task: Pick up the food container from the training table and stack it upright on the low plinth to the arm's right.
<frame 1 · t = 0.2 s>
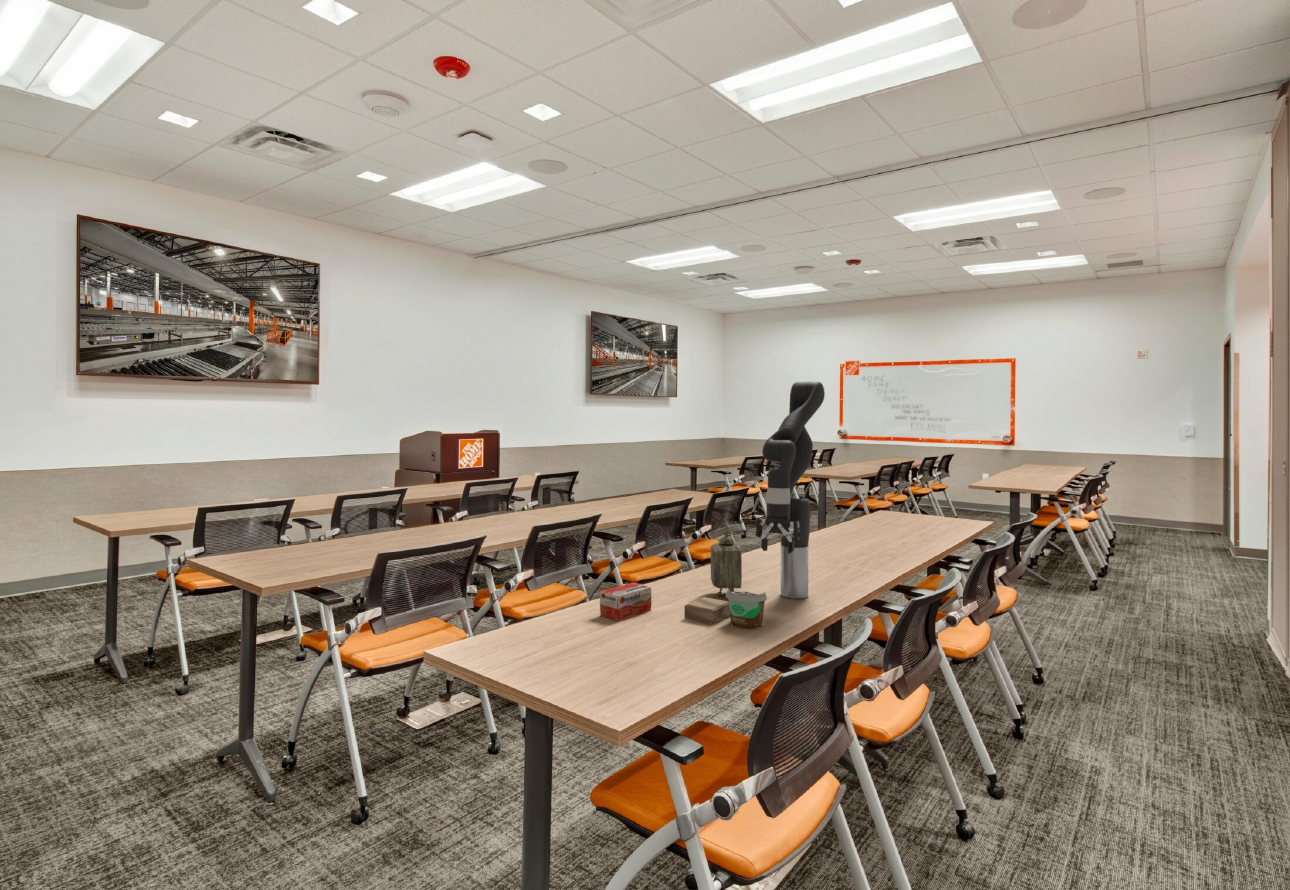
hand: (777, 552, 210), 17 cm above the table, tool pointing down, fingers open, 8 cm apart
food container: (743, 627, 190), on the table
medicine box: (626, 614, 203), on the table
plinth: (708, 616, 199), on the table
tabletop clock: (725, 596, 222), on the table
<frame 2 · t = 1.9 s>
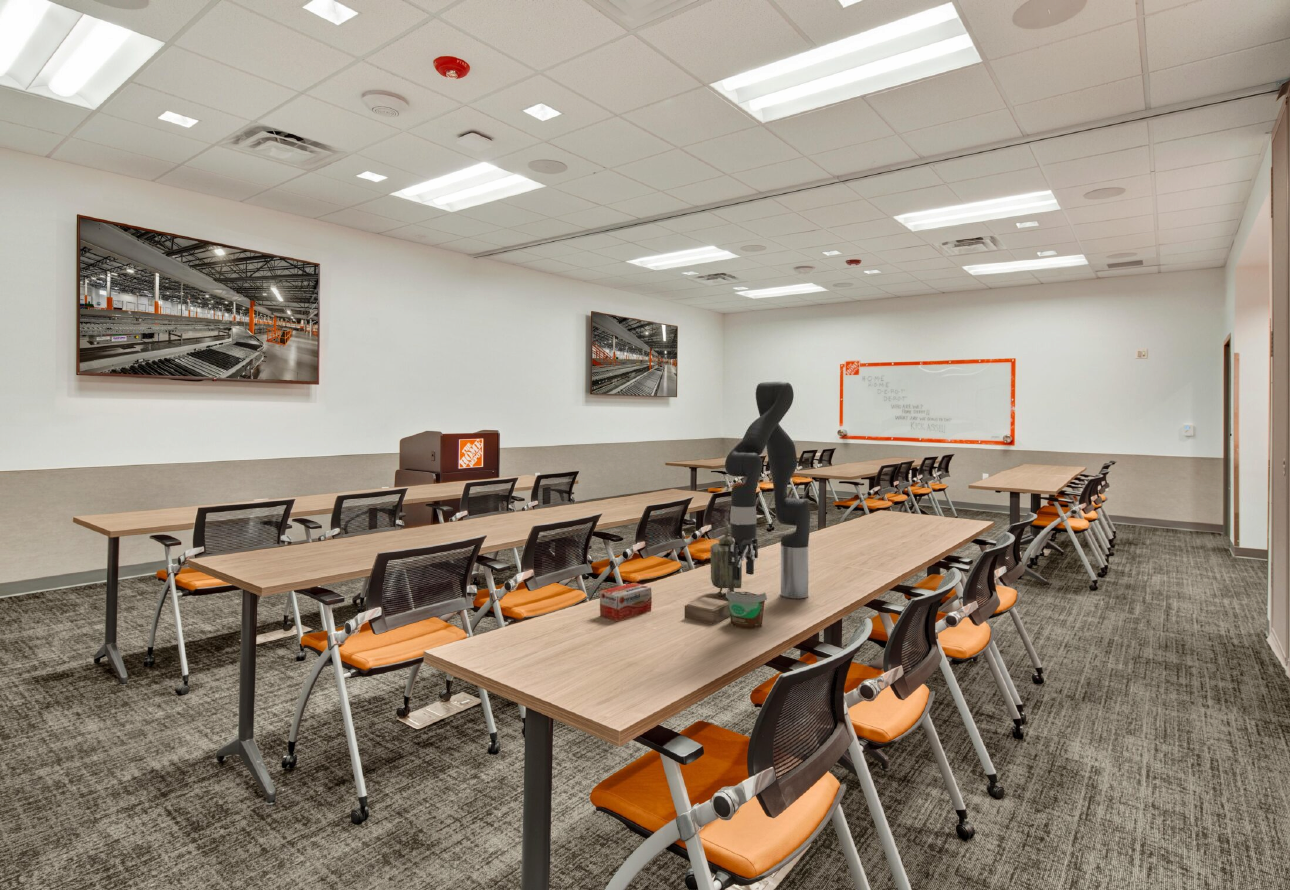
hand: (743, 576, 189), 15 cm above the table, tool pointing down, fingers open, 8 cm apart
nothing on the table moved.
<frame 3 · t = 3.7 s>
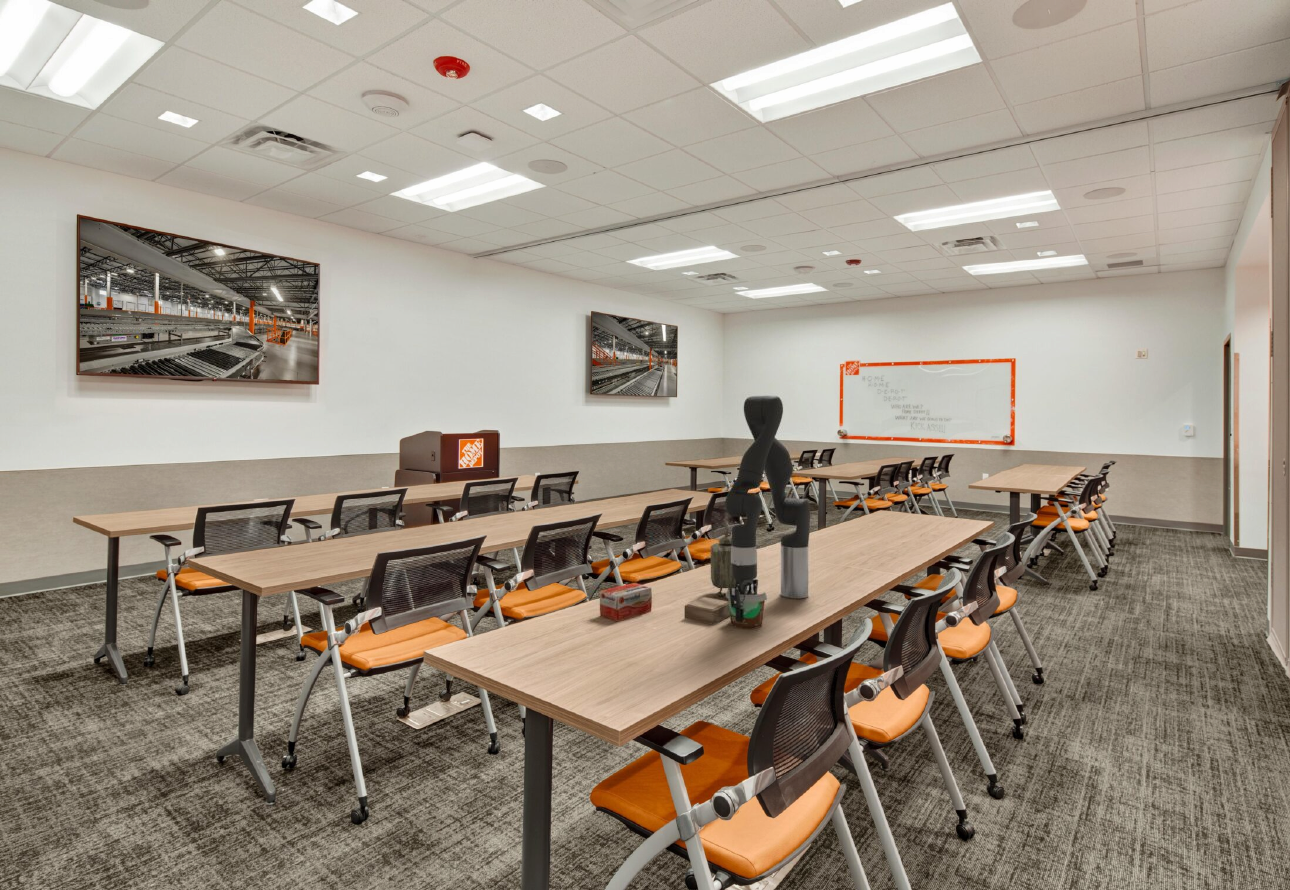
hand: (744, 618, 190), 2 cm above the table, tool pointing down, fingers closed on food container, 5 cm apart
food container: (743, 627, 190), on the table, touching gripper
everything else where it was.
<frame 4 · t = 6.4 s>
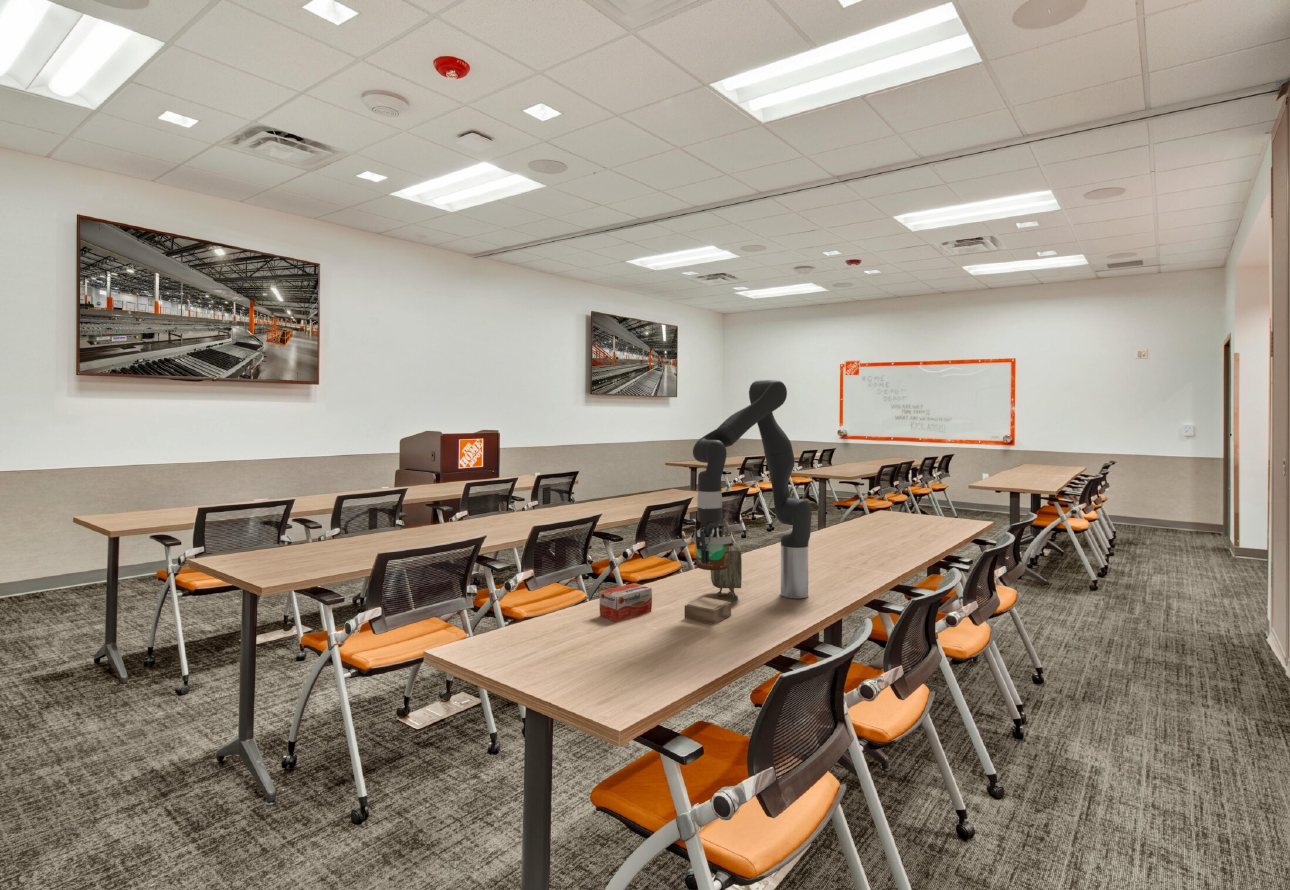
hand: (709, 560, 198), 17 cm above the table, tool pointing down, fingers closed on food container, 5 cm apart
food container: (708, 569, 197), point 15 cm above the table, touching gripper
everything else where it was.
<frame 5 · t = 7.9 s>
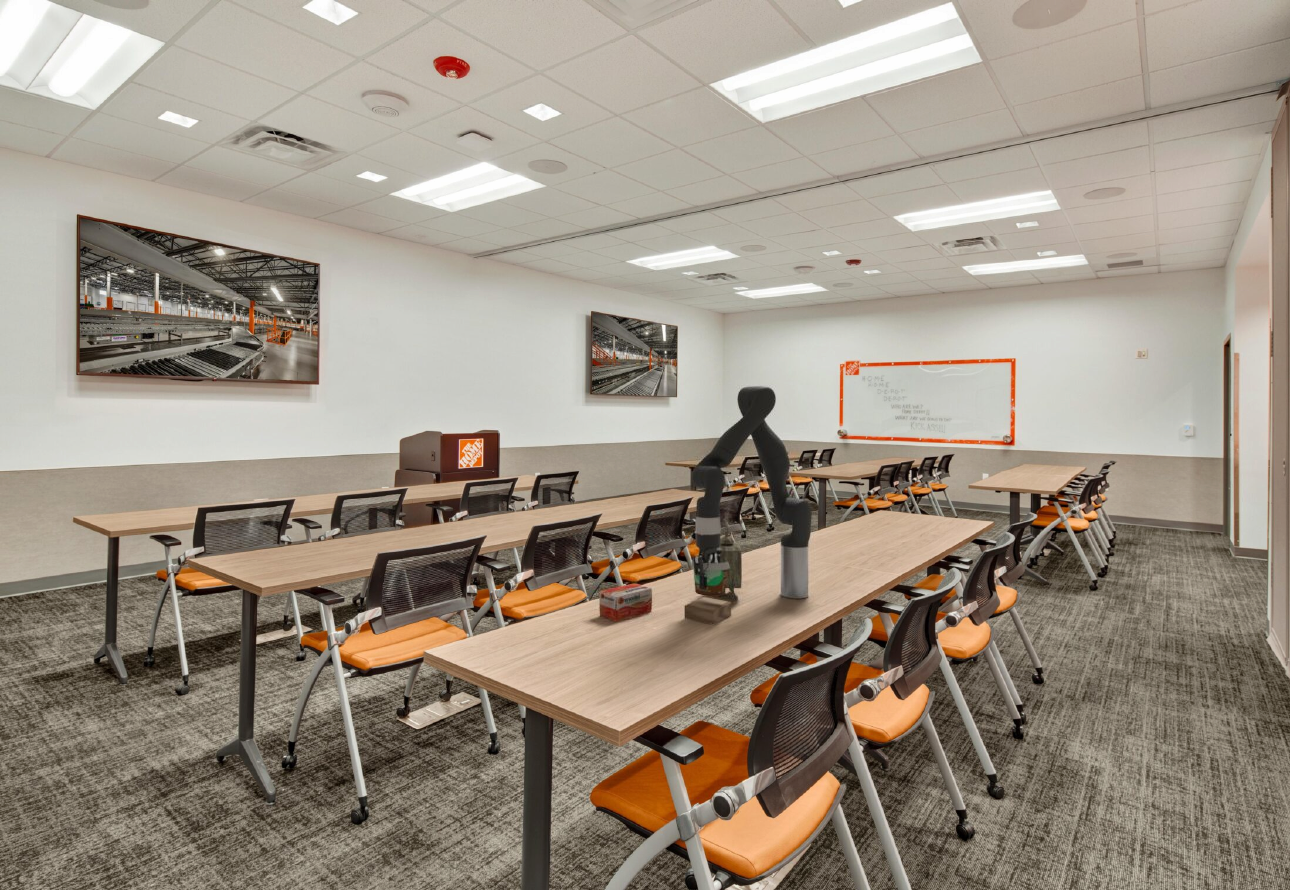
hand: (708, 586, 198), 9 cm above the table, tool pointing down, fingers closed on food container, 5 cm apart
food container: (707, 594, 198), point 7 cm above the table, touching gripper
everything else where it was.
when the fingers open (8 cm above the table, at t = 9.2 s): food container stays where it is, resting on plinth.
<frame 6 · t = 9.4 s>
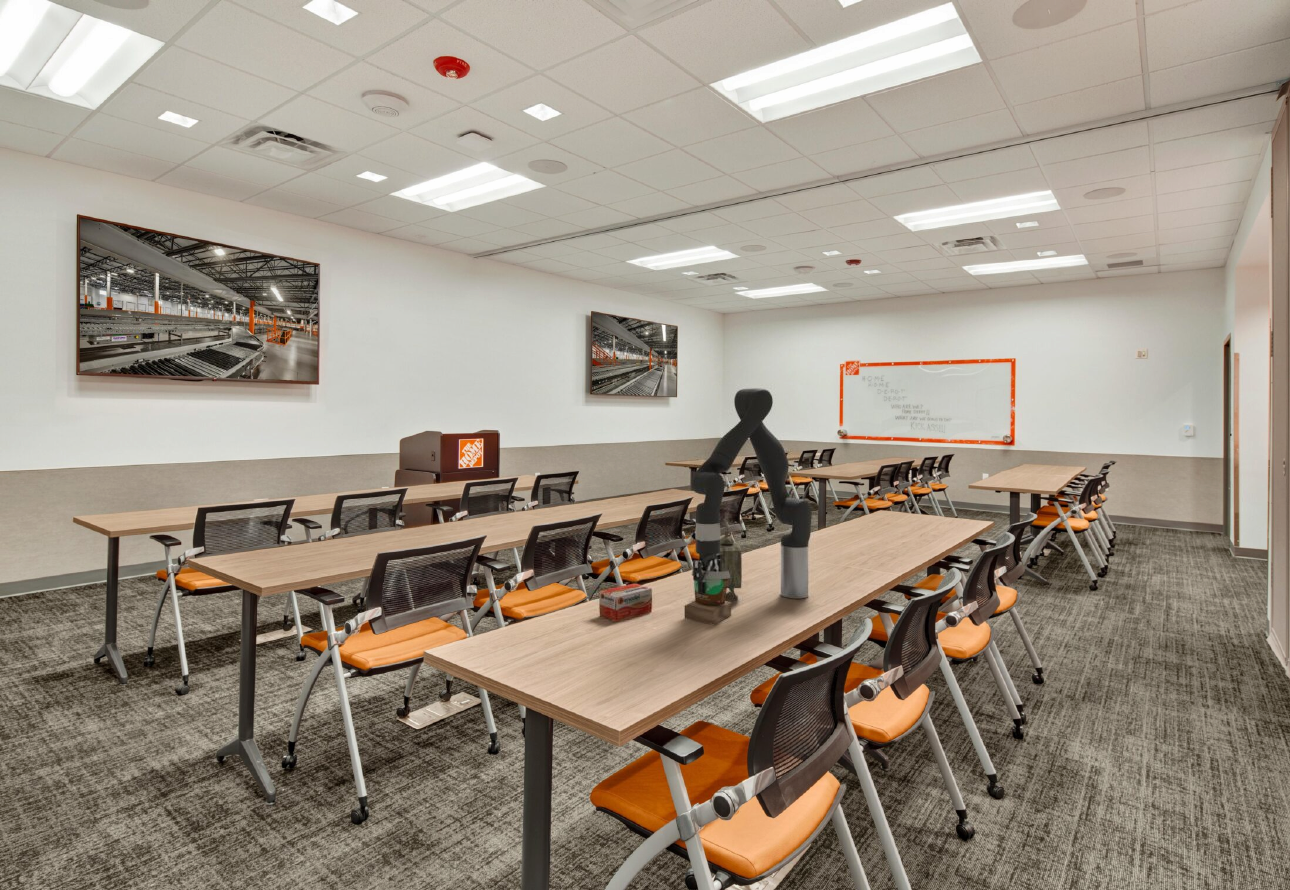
hand: (708, 591, 199), 8 cm above the table, tool pointing down, fingers open, 7 cm apart
food container: (706, 603, 198), point 4 cm above the table, touching gripper, plinth
everything else where it was.
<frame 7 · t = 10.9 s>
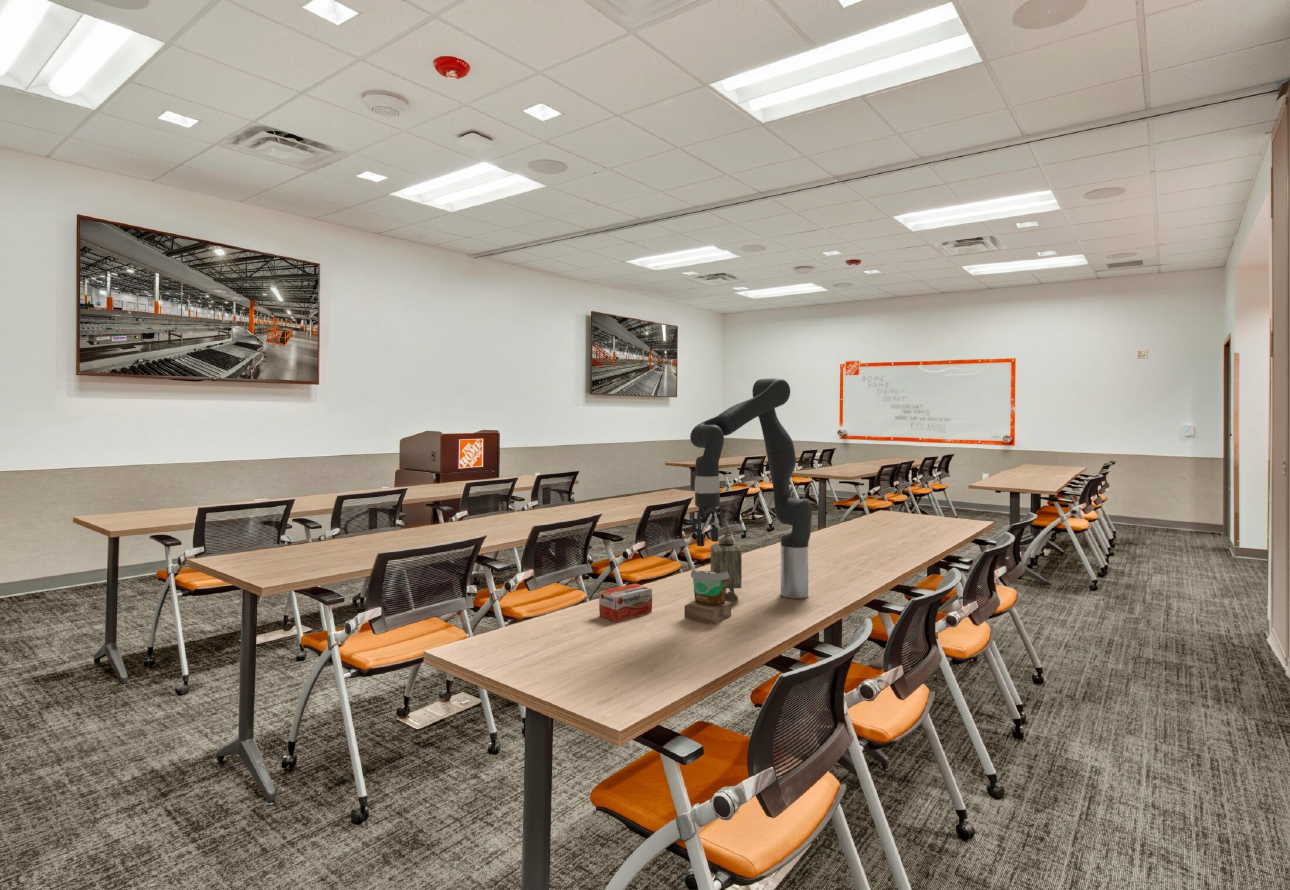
hand: (707, 543, 198), 23 cm above the table, tool pointing down, fingers open, 8 cm apart
food container: (706, 604, 198), point 4 cm above the table, touching plinth
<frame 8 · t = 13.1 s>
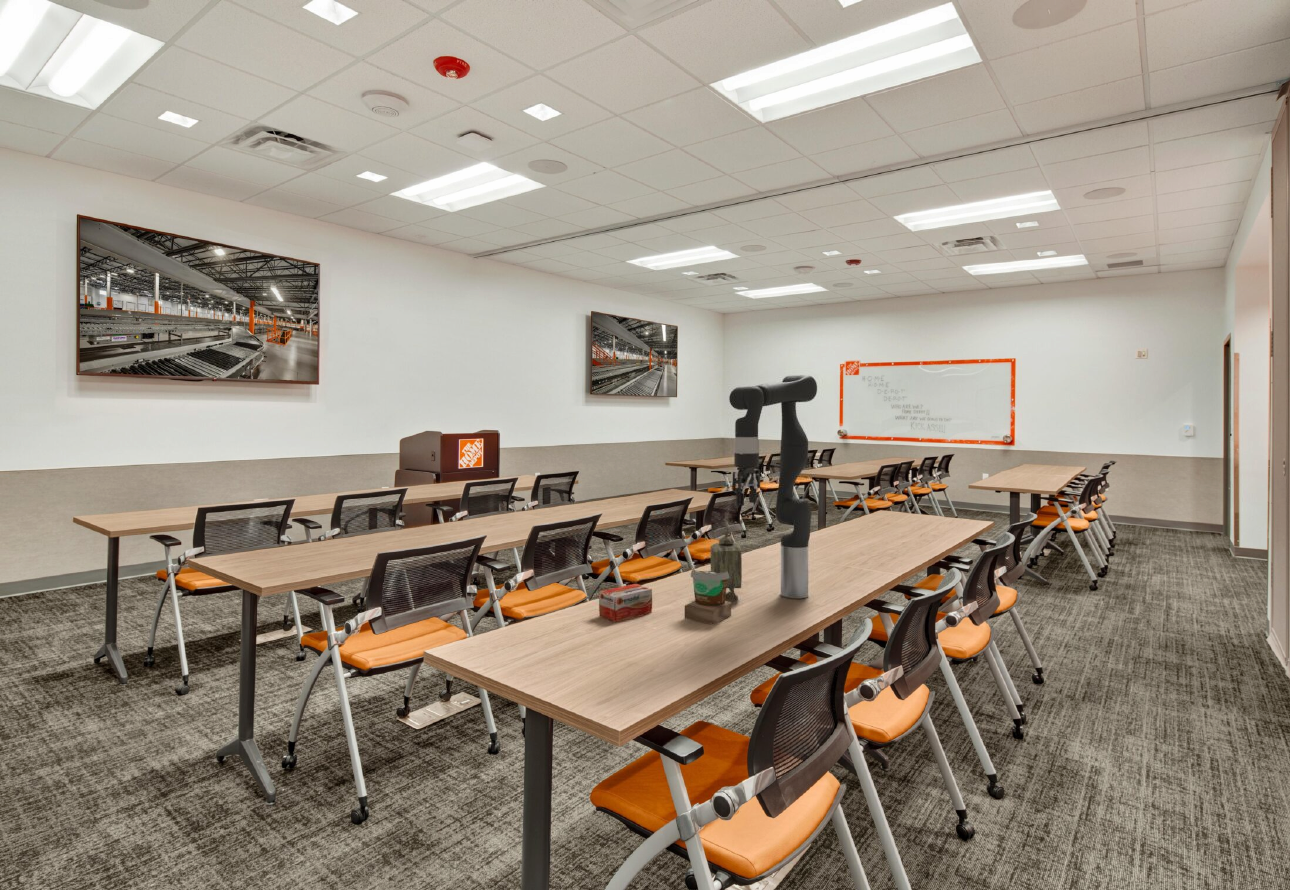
hand: (746, 504, 201), 34 cm above the table, tool pointing down, fingers open, 8 cm apart
at the end: food container 1.2 cm from the plinth (horizontally); food container point 4.1 cm above the table; food container tilted 0° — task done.
